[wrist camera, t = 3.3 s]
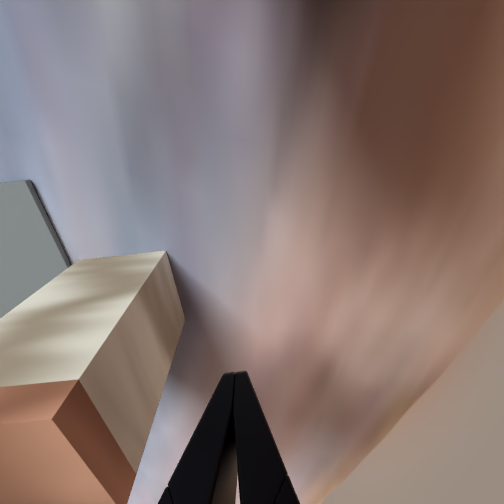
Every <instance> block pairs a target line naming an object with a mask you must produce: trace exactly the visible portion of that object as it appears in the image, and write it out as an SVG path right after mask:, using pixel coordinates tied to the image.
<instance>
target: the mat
mask: <svg viewBox="0 0 504 504" xmlns="http://www.w3.org/2000/svg"><path fill="white" fill-rule="evenodd" d="M70 266H71V264H70V262H69V260H68V258H67V256H66V254H65V252H64V250H63V248H62V245H61V243H60V241H59V239H58V237H57V235H56V233H55V231H54V229H53V227H52V225H51V223H50V221H49V219H48V216H47V214H46V212H45V210H44V208H43V206H42V204H41V202H40V200H39V198H38V196H37V194H36V192H35V189H34V187H33V185H32V183H31V181H30V180H22V181H12V182H3V183H0V318H2V317H3V316H4V315H6V314H7V313H8V312H10V311H11V310H12V309H14V308H15V307H16V306H18V305H19V304H20V303H22V302H23V301H24V300H26V299H27V298H28V297H30V296H31V295H32V294H34V293H35V292H36V291H38V290H39V289H40V288H42V287H43V286H44V285H46V284H47V283H49V282H50V281H51V280H53V279H54V278H55V277H57V276H58V275H59V274H61V273H62V272H63V271H65V270H66V269H67V268H69V267H70Z"/></svg>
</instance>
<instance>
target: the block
mask: <svg viewBox="0 0 504 504" xmlns="http://www.w3.org/2000/svg"><path fill="white" fill-rule="evenodd" d="M184 323H185V317H184V313H183V310H182V306H181V303H180V299H179V296H178V292H177V288H176V285H175V281H174V278H173V274H172V271H171V267H170V263H169V260H168V256H167V253H166V251H160V252H151V253H141V254H132V255H122V256H113V257H103V258H94V259H84V260H78V261H77V262H75V263H74V264H73V265H71V266H70V267H69V268H67V269H66V270H65V271H63V272H62V273H61V274H59V275H58V276H57V277H55V278H54V279H53V280H51V281H50V282H49V283H47V284H46V285H44V286H43V287H42V288H40V289H39V290H38V291H36V292H35V293H34V294H32V295H31V296H30V297H28V298H27V299H26V300H24V301H23V302H22V303H20V304H19V305H18V306H16V307H15V308H14V309H12V310H11V311H10V312H8V313H7V314H6V315H4V316H3V317H2V318H0V504H127V502H128V499H129V496H130V493H131V490H132V486H133V483H134V480H135V477H136V474H137V471H138V468H139V464H140V461H141V458H142V455H143V452H144V449H145V445H146V442H147V439H148V436H149V433H150V430H151V427H152V423H153V420H154V417H155V414H156V411H157V408H158V405H159V401H160V398H161V395H162V392H163V389H164V386H165V382H166V379H167V376H168V373H169V370H170V367H171V364H172V360H173V357H174V354H175V351H176V348H177V345H178V342H179V338H180V335H181V332H182V329H183V326H184Z"/></svg>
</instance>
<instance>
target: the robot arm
mask: <svg viewBox="0 0 504 504" xmlns="http://www.w3.org/2000/svg"><path fill="white" fill-rule="evenodd" d="M237 473H238V481H239V493H240V504H300V502H299V500H298V497H297V495H296V493H295V490H294V488H293V485H292V483H291V480H290V478H289V476H288V475H287V471H286V468H285V466H284V463H283V461H282V458H281V456H280V453H279V451H278V448H277V446H276V443H275V441H274V438H273V436H272V433H271V431H270V428H269V426H268V423H267V421H266V418H265V416H264V413H263V411H262V408H261V406H260V403H259V401H258V398H257V396H256V393H255V391H254V388H253V386H252V383H251V381H250V378H249V376H248V373H247V372H246V371H240V372H236V374H235V373H234V372H230V373H224V374H223V376H222V378H221V380H220V382H219V384H218V386H217V388H216V390H215V392H214V394H213V396H212V397H211V399H210V401H209V403H208V405H207V407H206V409H205V411H204V413H203V415H202V417H201V419H200V421H199V423H198V425H197V427H196V429H195V431H194V433H193V435H192V437H191V439H190V441H189V443H188V445H187V447H186V449H185V451H184V453H183V455H182V457H181V459H180V461H179V463H178V465H177V467H176V469H175V471H174V473H173V475H172V477H171V479H170V481H169V483H168V487H166V488H165V490H164V492H163V494H162V496H161V498H160V500H159V502H158V504H235V500H236V486H237Z"/></svg>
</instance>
